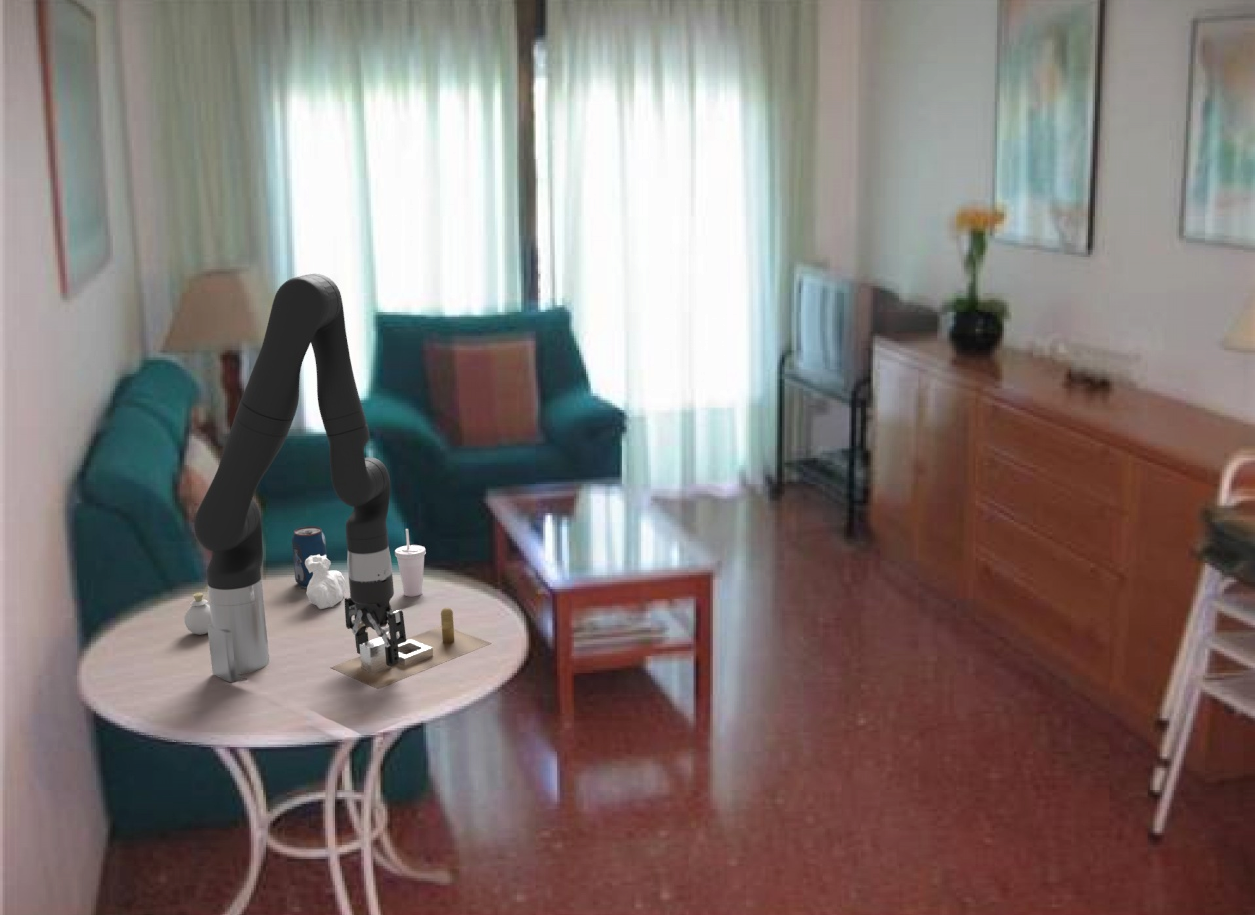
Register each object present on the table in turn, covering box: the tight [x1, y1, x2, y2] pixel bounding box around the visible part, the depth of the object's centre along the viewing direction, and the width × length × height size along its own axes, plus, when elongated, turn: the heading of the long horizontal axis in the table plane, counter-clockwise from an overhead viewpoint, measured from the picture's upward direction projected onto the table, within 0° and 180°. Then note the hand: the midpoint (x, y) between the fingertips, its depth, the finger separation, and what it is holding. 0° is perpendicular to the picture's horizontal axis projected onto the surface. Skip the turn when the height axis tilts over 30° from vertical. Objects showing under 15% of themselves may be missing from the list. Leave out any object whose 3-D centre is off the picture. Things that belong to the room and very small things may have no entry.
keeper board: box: [330, 607, 492, 690], centre depth 235 cm, size 26×14×8 cm, turn 137°
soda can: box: [291, 526, 328, 589], centre depth 277 cm, size 7×7×12 cm
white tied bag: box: [305, 554, 347, 610], centre depth 267 cm, size 12×8×11 cm
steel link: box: [359, 636, 433, 675], centre depth 232 cm, size 12×6×5 cm, turn 137°
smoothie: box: [394, 528, 427, 597], centre depth 270 cm, size 6×6×14 cm
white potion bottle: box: [184, 585, 212, 636], centre depth 251 cm, size 6×7×10 cm
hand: (377, 658), depth 230 cm, fingers open, 8 cm apart
